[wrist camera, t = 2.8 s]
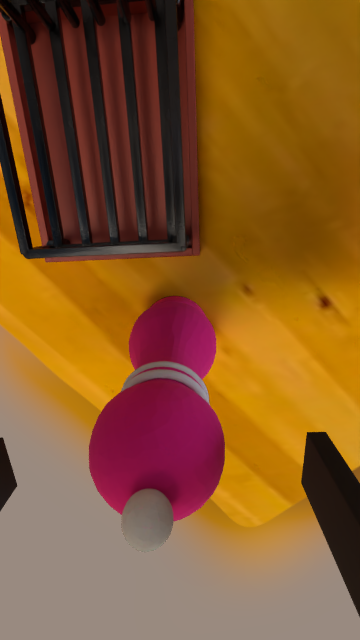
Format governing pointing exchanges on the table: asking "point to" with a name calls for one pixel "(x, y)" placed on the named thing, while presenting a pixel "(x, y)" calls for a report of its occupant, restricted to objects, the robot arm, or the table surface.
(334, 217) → the table surface
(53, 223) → the dish rack
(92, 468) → the pepper mill
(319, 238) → the table surface
